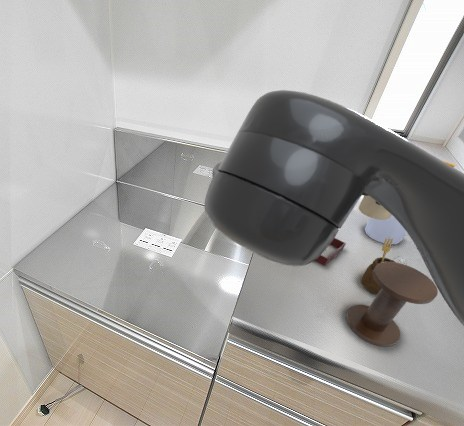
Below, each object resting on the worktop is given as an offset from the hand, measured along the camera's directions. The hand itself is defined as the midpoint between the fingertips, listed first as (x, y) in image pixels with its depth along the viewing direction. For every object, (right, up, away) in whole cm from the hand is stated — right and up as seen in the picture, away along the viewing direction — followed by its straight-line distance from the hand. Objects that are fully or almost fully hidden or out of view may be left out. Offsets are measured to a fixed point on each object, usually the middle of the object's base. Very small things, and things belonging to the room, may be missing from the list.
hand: (405, 176), depth 55 cm
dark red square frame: (-2, -16, +25) cm, 30 cm away
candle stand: (-2, -30, +5) cm, 31 cm away
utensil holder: (+5, -24, +14) cm, 28 cm away
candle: (-2, -7, +5) cm, 9 cm away
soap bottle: (+19, -13, +28) cm, 37 cm away
